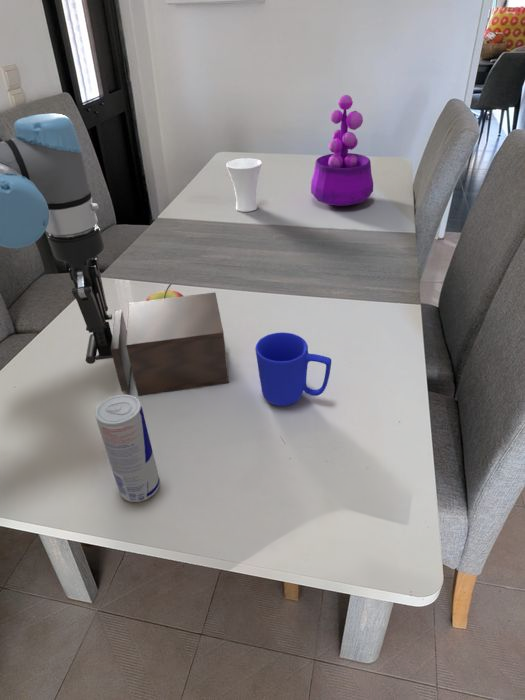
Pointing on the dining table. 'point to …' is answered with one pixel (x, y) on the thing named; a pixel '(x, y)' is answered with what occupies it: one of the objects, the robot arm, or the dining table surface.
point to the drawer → (114, 351)
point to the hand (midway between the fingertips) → (108, 355)
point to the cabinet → (176, 343)
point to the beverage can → (128, 447)
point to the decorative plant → (343, 163)
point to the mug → (286, 368)
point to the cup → (245, 182)
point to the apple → (164, 295)
